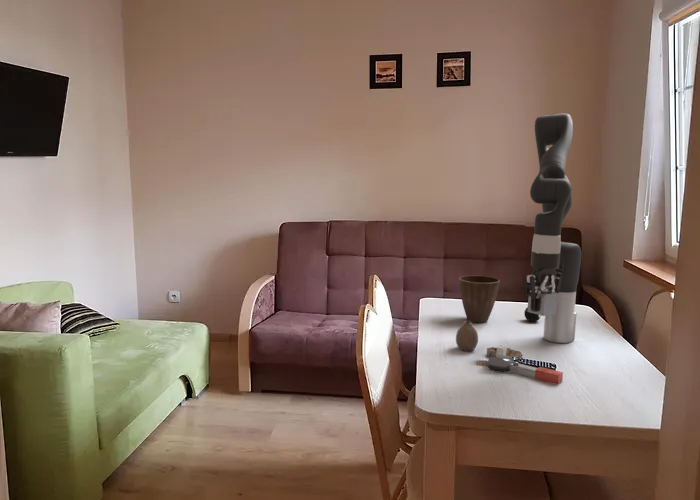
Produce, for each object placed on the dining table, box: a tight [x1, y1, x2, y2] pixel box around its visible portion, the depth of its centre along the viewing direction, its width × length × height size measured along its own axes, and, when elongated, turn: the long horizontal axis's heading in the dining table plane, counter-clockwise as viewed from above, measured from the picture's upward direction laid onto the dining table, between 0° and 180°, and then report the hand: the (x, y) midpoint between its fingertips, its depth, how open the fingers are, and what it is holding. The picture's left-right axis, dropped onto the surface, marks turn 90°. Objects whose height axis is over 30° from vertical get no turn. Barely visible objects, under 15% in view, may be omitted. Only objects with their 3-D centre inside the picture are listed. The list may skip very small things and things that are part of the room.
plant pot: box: [458, 275, 500, 324], centre depth 216 cm, size 15×15×16 cm
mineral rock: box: [486, 345, 523, 359], centre depth 175 cm, size 11×4×8 cm
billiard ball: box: [524, 306, 542, 323], centre depth 217 cm, size 6×6×6 cm
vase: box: [455, 321, 479, 352], centre depth 182 cm, size 7×7×9 cm
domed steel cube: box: [527, 288, 557, 317], centre depth 162 cm, size 5×5×7 cm
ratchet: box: [487, 345, 564, 386], centre depth 161 cm, size 7×21×6 cm, turn 51°
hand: (541, 309), depth 162 cm, fingers closed on domed steel cube, 5 cm apart
